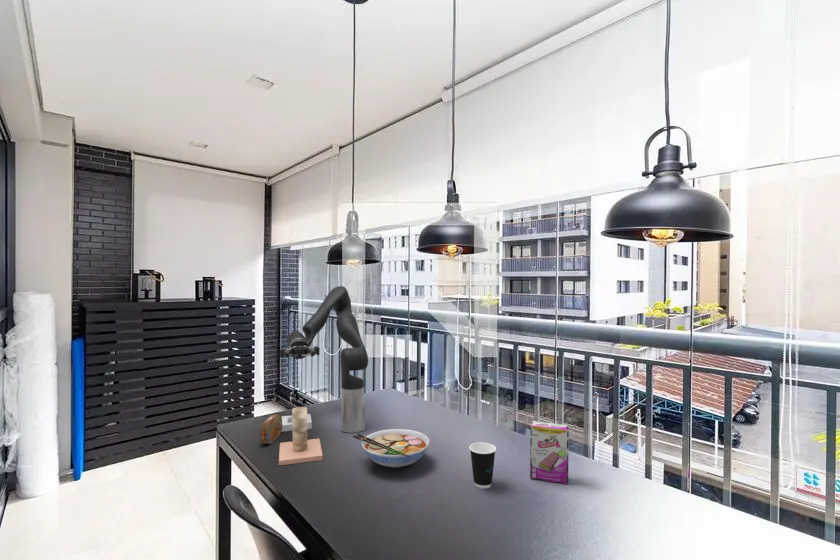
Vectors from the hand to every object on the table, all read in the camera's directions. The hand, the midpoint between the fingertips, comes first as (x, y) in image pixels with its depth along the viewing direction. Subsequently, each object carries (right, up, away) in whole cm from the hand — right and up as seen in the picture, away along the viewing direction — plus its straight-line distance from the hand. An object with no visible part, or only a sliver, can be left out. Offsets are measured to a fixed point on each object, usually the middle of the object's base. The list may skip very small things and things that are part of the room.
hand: (300, 354), depth 147 cm
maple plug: (+1, -32, -4) cm, 33 cm away
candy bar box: (+83, -34, -23) cm, 93 cm away
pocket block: (-9, -34, +24) cm, 43 cm away
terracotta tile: (+1, -34, -4) cm, 34 cm away
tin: (-14, -34, +9) cm, 38 cm away
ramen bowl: (+35, -34, -12) cm, 51 cm away
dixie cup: (+62, -34, -27) cm, 76 cm away
